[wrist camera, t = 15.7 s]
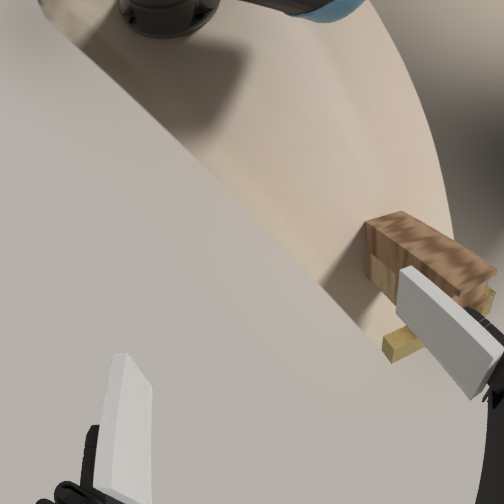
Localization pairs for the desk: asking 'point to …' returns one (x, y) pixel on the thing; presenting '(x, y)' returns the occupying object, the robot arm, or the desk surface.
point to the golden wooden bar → (408, 342)
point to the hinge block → (424, 259)
